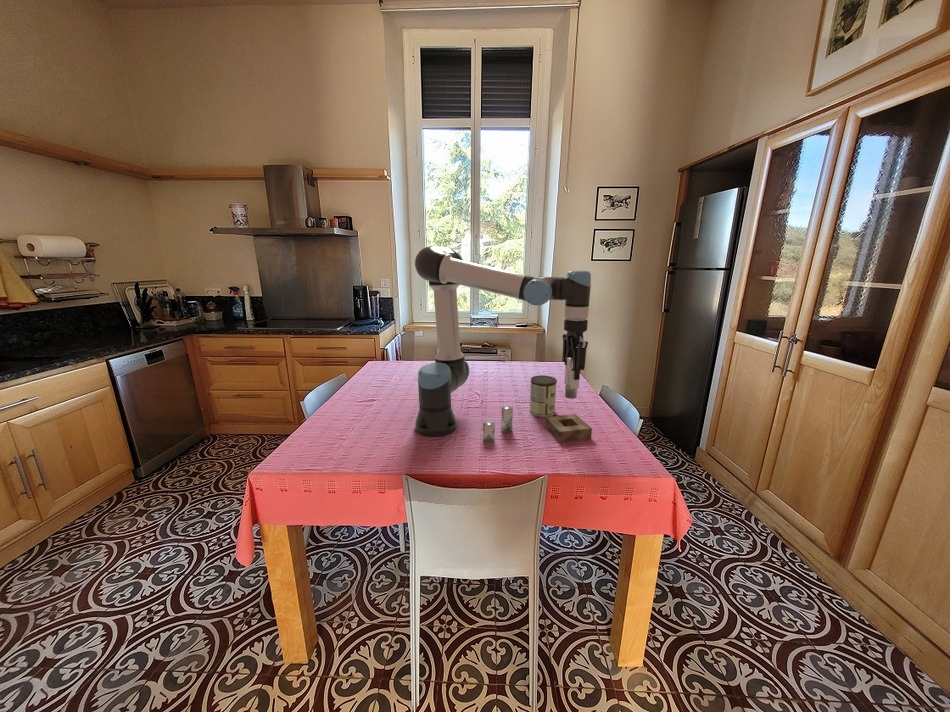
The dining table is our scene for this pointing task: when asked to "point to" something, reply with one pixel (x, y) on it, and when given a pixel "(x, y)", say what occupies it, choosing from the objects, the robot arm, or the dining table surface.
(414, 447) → the dining table surface
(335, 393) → the dining table surface
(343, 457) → the dining table surface
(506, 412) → the medium pin
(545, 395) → the coffee can
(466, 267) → the robot arm
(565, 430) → the hole block
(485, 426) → the short pin
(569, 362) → the long pin
